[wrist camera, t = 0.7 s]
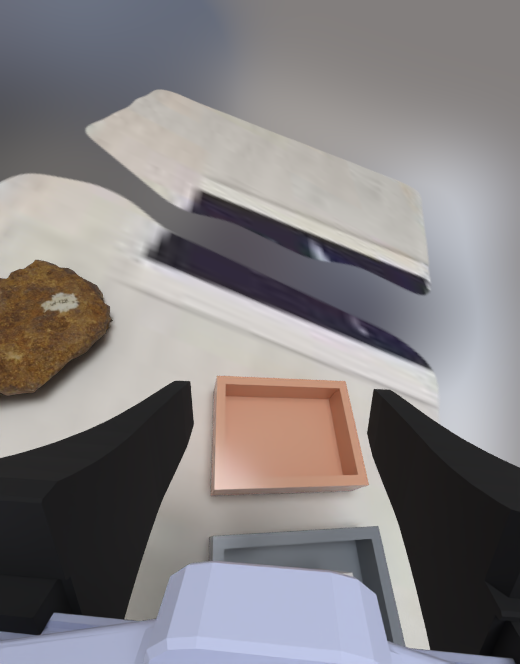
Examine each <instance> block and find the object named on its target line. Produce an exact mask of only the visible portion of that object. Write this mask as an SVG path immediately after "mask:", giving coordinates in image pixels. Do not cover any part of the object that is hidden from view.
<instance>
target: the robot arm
mask: <svg viewBox="0 0 520 664" xmlns="http://www.w3.org/2000/svg"><path fill="white" fill-rule="evenodd" d="M193 425H194V421H193V409H192V397H191V385H190V381H174V382H172V383H170V384H169V385H167V386H165V387H164V388H162V389H161V390H159V391H157V392H156V393H154V394H153V395H151V396H150V397H148V398H146V399H145V400H143V401H142V402H140V403H138V404H137V405H135V406H133V407H131V408H130V409H128V410H126V411H125V412H123V413H121V414H119V415H118V416H116V417H114V418H112V419H110V420H108V421H106V422H104V423H102V424H99V425H97V426H95V427H93V428H91V429H89V430H86V431H84V432H81V433H79V434H76V435H73V436H71V437H68V438H66V439H63V440H61V441H58V442H55V443H52V444H49V445H46V446H43V447H40V448H36V449H33V450H30V451H26V452H23V453H19V454H16V455H12V456H8V457H3V458H0V664H520V468H519V467H517V466H515V465H513V464H510V463H508V462H506V461H504V460H502V459H500V458H498V457H496V456H494V455H492V454H489V453H487V452H486V451H484V450H482V449H480V448H478V447H476V446H475V445H473V444H471V443H469V442H467V441H466V440H464V439H462V438H460V437H459V436H457V435H455V434H454V433H452V432H450V431H449V430H448V429H446V428H444V427H443V426H441V425H440V424H438V423H437V422H435V421H434V420H432V419H431V418H429V417H428V416H427V415H425V414H424V413H422V412H421V411H420V410H418V409H417V408H415V407H414V406H413V405H411V404H410V403H409V402H407V401H406V400H404V399H403V398H402V397H400V396H399V395H397V394H396V393H394V392H393V391H391V390H382V389H374V391H373V397H372V404H371V411H370V418H369V424H368V431H367V435H368V439H369V444H370V448H371V452H372V456H373V459H374V461H375V464H376V467H377V469H378V472H379V474H380V477H381V479H382V482H383V485H384V487H385V490H386V492H387V495H388V497H389V500H390V502H391V505H392V507H393V510H394V512H395V515H396V518H397V521H398V524H399V527H400V531H401V534H402V538H403V541H404V545H405V548H406V552H407V555H408V559H409V563H410V567H411V571H412V575H413V578H414V582H415V586H416V590H417V594H418V598H419V603H420V607H421V611H422V615H423V619H424V623H425V628H426V632H427V637H428V641H429V646H430V650H423V649H413V648H407V647H404V646H401V645H398V644H395V643H392V642H389V641H387V638H386V634H385V630H384V625H383V621H382V617H381V613H380V609H379V604H378V600H377V596H376V594H375V593H374V592H372V591H371V590H370V589H369V588H368V587H366V586H365V585H364V584H363V583H361V582H360V581H359V580H358V579H356V578H355V577H352V576H349V575H345V574H341V573H337V572H334V571H330V570H318V569H306V568H294V567H283V566H271V565H259V564H247V563H235V562H223V561H207V562H197V563H191V564H189V565H187V566H185V567H184V568H182V569H181V570H179V571H178V572H176V573H175V574H173V575H172V576H170V579H169V582H168V585H167V588H166V591H165V594H164V597H163V600H162V603H161V606H160V610H159V613H158V616H157V619H151V620H143V621H133V620H124V618H125V614H126V611H127V607H128V603H129V600H130V597H131V593H132V590H133V587H134V583H135V580H136V577H137V573H138V570H139V567H140V564H141V560H142V557H143V554H144V551H145V548H146V545H147V542H148V539H149V536H150V533H151V530H152V527H153V524H154V521H155V518H156V516H157V513H158V510H159V507H160V505H161V502H162V500H163V497H164V495H165V493H166V491H167V489H168V487H169V484H170V482H171V480H172V478H173V476H174V474H175V472H176V469H177V467H178V465H179V463H180V461H181V459H182V456H183V454H184V452H185V450H186V448H187V445H188V442H189V439H190V435H191V432H192V429H193Z"/></svg>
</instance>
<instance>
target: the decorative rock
mask: <svg viewBox="0 0 520 664" xmlns="http://www.w3.org/2000/svg"><path fill="white" fill-rule="evenodd" d="M109 314H110V306H108V305H107V304H105V303H104V300H103V294H102V292H101V291H100V290H99V288H98V287H97V285H95V284H93V283H91V282H89V281H87V280H85V279H83V278H82V277H80V276H78V275H77V274H76V273H75V272H74V271H73V270H71V269H69V268H59V267H58V266H57V265H54V264H52V263H49V262H46V261H41V260H35V261H34V262H33V263H32V264H30V265H29V266H27V267H26V268H25V269H19V270H16V271H14V272H12V273H11V274H10V276H9V277H8V278H7V279H2V278H0V393H2V394H4V395H7V396H9V395H15V394H20V393H35V392H36V390H37V389H38V388H40V387H41V386H42V385H44V384H45V383H46V382H47V381H48V380H49V379H51V378H52V377H53V376H54V375H55V374H57V373H58V372H59V371H60V370H61V369H62V368H63V367H64V366H65V365H66V364H67V363H68V362H69V361H70V360H72V359H75V358H78V357H79V356H81V355H83V354H84V353H86V352H87V351H88V350H89V349H90V347H91V346H92V345H93V344H94V343H95V342H96V341H97V340H98V339H99V338H101V337H102V336H103V335H105V334H106V330H107V329H108V328H109V323H110V322H111V321H113V320H112V319H111V318H110V316H109Z"/></svg>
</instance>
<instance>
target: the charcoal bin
mask: <svg viewBox="0 0 520 664" xmlns="http://www.w3.org/2000/svg"><path fill="white" fill-rule="evenodd" d="M209 561H223V562H235V563H247V564H259V565H271V566H283V567H294V568H306V569H315V568H324V569H331V570H338V571H344V572H351V573H353V577H355V578H356V579H358V580H359V581H360V582H361V583H363V584H364V585H365V586H366V587H368V588H369V589H370V590H371V591H372V592H374V593H375V594H376V596H377V600H378V604H379V609H380V613H381V617H382V621H383V625H384V630H385V634H386V638H387V641H389V642H392V643H395V644H398V645H401V646H404V647H405V642H404V638H403V633H402V629H401V625H400V620H399V616H398V611H397V607H396V602H395V598H394V594H393V589H392V585H391V580H390V576H389V572H388V567H387V563H386V558H385V554H384V549H383V545H382V541H381V536H380V532H379V527H378V526H372V527H355V528H339V529H322V530H305V531H289V532H272V533H256V534H239V535H223V536H212V537H210V539H209Z"/></svg>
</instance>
